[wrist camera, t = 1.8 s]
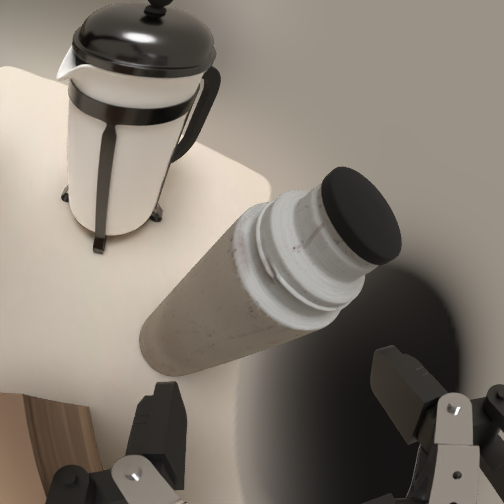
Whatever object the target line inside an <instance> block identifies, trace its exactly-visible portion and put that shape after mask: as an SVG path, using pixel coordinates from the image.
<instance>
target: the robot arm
mask: <svg viewBox="0 0 504 504" xmlns="http://www.w3.org/2000/svg"><path fill="white" fill-rule="evenodd" d="M370 383H371V388H372V391H373V392H374V394H375V395H376V397H377V398H378V400H379V402H380V403H381V405H382V406H383V407H384V409H385V410H386V412H387V413H388V415H389V417H390V418H391V419H392V421H393V423H394V424H395V426H396V427H397V429H398V430H399V432H400V433H401V435H402V436H403V438H404V439H405V441H406V442H407V444H408V445H409V444H412V443H414V442H416V441H419V443H420V444H421V445H420V447H419V450H418V455H417V461H416V465H415V470H414V475H413V479H412V483H411V487H410V490H409V492H408V494H407V497H406V498H403V499H394V498H393V496H392V494H391V493H389V494H387V495H384V496H382V497H379V498H376V499H373V500H371V501H368V502H365V503H362V504H477V495H478V483H479V467H480V468H481V470H482V471H483V472H484V474H485V476H486V477H487V479H488V480H489V481H490V483H491V484H492V486H493V487H494V489H495V490H496V492H497V493H498V495H499V496H500V498H501V499H502V501H503V502H504V441H503V440H502V438H501V437H500V436H499V435H498V433H499V432H500V430H502V431H503V432H504V385H501V384H499V385H494V386H492V387H491V388H490V389H489V390H488V392H487V395H486V397H483V398H478V399H473V400H469V399H468V398H467V397H466V396H464V395H462V394H459V393H448V392H447V391H446V390H445V389H444V388H443V387H442V386H441V385H440V384H439V382H438V381H437V380H436V379H435V378H434V377H433V376H432V375H431V374H429V373H428V371H427V370H426V369H425V368H423V366H422V365H421V364H420V362H418V360H417V359H415V358H413V357H411V356H409V355H407V354H402V353H401V352H400V351H399V350H398V349H397V348H396V347H395V346H388V347H384V348H381V349H377V350H376V351H375V353H374V358H373V365H372V372H371V379H370ZM186 433H187V415H186V410H185V407H184V404H183V401H182V397H181V394H180V391H179V387H178V384H177V382H176V381H174V382H157V383H156V386H155V390H154V395H152V396H144V398H143V399H142V400H141V401H140V402H139V404H138V405H137V409H136V413H135V417H134V421H133V425H132V429H131V433H130V437H129V441H128V446H127V450H126V454H125V457H122V458H120V459H119V460H118V461H116V462H115V464H114V465H113V467H112V469H109V470H105V471H99V472H92V473H87V471H86V470H85V469H84V468H82V467H81V466H78V465H66V466H63V467H61V468H60V469H59V470H57V472H56V473H55V474H54V477H53V480H52V483H51V486H50V489H49V493H48V496H47V499H46V503H45V504H188V503H187V502H184V501H183V500H182V499H181V498H180V497H179V496H178V495H177V493H176V492H175V490H184V475H185V452H186Z"/></svg>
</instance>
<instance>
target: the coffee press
mask: <svg viewBox="0 0 504 504" xmlns="http://www.w3.org/2000/svg"><path fill="white" fill-rule="evenodd" d="M148 1H149V2H143V1H129V2H120V3H115V4H111V5H108V6H105V7H102V8H100V9H99V10H97V11H95V12H93V13H92V14H91V15H90V16H89V17H88V18H87V19H86V20H85V21H84V23H83V24H82V26H81V27H79V28H78V29H77V30H76V31H75V33H74V35H73V41H72V46H71V47H70V49H69V51H68V52H67V54H66V56H65V58H64V60H63V62H62V64H61V66H60V69H59V71H58V74H57V80H58V81H62V80H66V79H69V85H68V95H69V98H70V99H69V113H68V137H67V171H68V186H67V187H66V188H65V189H64V191H63V193H62V196H61V199H62V200H63V201H65V202H69V204H70V208H71V211H72V213H73V215H74V216H75V218H76V219H77V220H78V222H79V223H80V224H82V225H83V226H84V227H85V228H87V229H89V230H91V231H93V232H95V238H94V245H93V251H96V252H100V253H103V251H104V247H105V242H106V237H107V235H121V234H125V233H128V232H131V231H133V230H135V229H137V228H138V227H140V226H141V225H142V224H144V223H145V222H146V221H147V219H148V218H150V219H151V220H152V221H154V222H160V221H161V220H162V215H163V210H162V209H161V207H160V206H159V204H158V201H159V197H160V194H161V191H162V188H163V185H164V182H165V179H166V176H167V173H168V170H169V167H170V164H171V163H173V162H174V161H176V160H178V159H179V158H181V157H182V156H183V155H184V154H185V153H186V152H187V151H188V150H189V149H190V148H191V147H192V145H193V144H194V142H195V141H196V139H197V137H198V135H199V133H200V131H201V129H202V127H203V124H204V122H205V120H206V118H207V116H208V113H209V111H210V109H211V107H212V105H213V102H214V100H215V98H216V95H217V93H218V90H219V87H220V82H221V77H220V73H219V71H218V70H217V69H216V68H214V67H213V66H212V64H213V62H214V60H215V58H216V50H215V48H214V39H213V35H212V33H211V31H210V29H209V28H208V27H207V26H206V24H204V22H203V21H201V20H200V19H199V18H197V17H196V16H194V15H192V14H190V13H188V12H186V11H184V10H181V9H179V8H176V7H172V6H169V4H170V3H171V2H172V1H173V0H148ZM201 78H203V79H204V88H203V91H202V94H201V96H200V99H199V101H198V103H197V106H196V108H195V110H194V113H193V115H192V118H191V120H190V123H189V125H188V128H187V130H186V132H185V135H184V137H183V138H182V140H181V141H180V143H179V144H178V142H179V139H180V137H181V134H182V131H183V129H184V126H185V124H186V121H187V119H188V116H189V113H190V111H191V108H192V106H193V103H194V101H195V98H196V96H197V94H198V91H199V88H200V80H201ZM187 112H188V113H187ZM186 114H187V115H186ZM185 117H186V118H185ZM183 122H184V123H183ZM181 127H182V128H181ZM180 130H181V131H180ZM178 135H179V136H178ZM177 138H178V139H177ZM174 146H175V147H174ZM167 166H168V167H167ZM166 169H167V170H166ZM165 172H166V173H165ZM164 175H165V176H164ZM163 178H164V179H163ZM67 191H68V193H66V192H67ZM159 191H160V192H159ZM158 194H159V195H158ZM157 197H158V199H157ZM156 200H157V204H156V212H157V214H156V213H154V212H153V209H154V206H155V203H156Z"/></svg>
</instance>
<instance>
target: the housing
mask: <svg viewBox="0 0 504 504" xmlns="http://www.w3.org/2000/svg"><path fill="white" fill-rule="evenodd" d="M66 465H78V466H81V467H82V468H84V469H85V470H86V471H87V473H92V472H99V471H103V468H102V464H101V461H100V457H99V453H98V449H97V445H96V441H95V436H94V432H93V427H92V422H91V417H90V412H89V407H86V406H79V405H73V404H67V403H62V402H56V401H51V400H46V399H42V398H37V397H33V396H29V395H24V394H11V393H0V504H45V503H46V499H47V496H48V493H49V489H50V486H51V483H52V480H53V477H54V474H55V473H56V472H57V470H59V469H60V468H61V467H63V466H66Z"/></svg>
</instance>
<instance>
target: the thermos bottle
mask: <svg viewBox="0 0 504 504" xmlns="http://www.w3.org/2000/svg"><path fill="white" fill-rule="evenodd" d="M401 244H402V242H401V234H400V229H399V226H398V223H397V221H396V218H395V216H394V214H393V212H392V210H391V208H390V206H389V205H388V203H387V201H386V200H385V199H384V197H383V196H382V195H381V193H380V192H379V191H378V189H377V188H376V187H375V186H374V185H373V184H372V183H371V182H370V181H368V179H367V178H365V177H364V176H363V175H361V174H360V173H358V172H357V171H355V170H353V169H351V168H347V167H337V168H335V169H334V170H332V171H331V172H330V173H329V174H328V175H327V176H326V177H325V178H324V180H323V182H322V184H319V185H318V186H316V187H315V188H313V189H312V190H311V191H310V192H306V191H301V190H294V191H288V192H286V193H284V194H282V195H280V196H279V197H278V198H277V199H274V200H272V201H270V202H265V203H261V204H257V205H255V206H253V207H251V208H249V209H248V210H247V211H245V212H244V213H243V214H242V215H241V216H240V217H239V218H238V219H237V221H236V222H235V223H234V224H233V225H232V226H231V227H230V228H229V229H228V230H227V231H226V232H225V233H224V234H223V236H222V237H221V238H220V239H219V240H218V241H217V242H216V243H215V244H214V245H213V246H212V247H211V249H210V250H209V251H208V252H207V253H206V254H205V255H204V256H203V257H202V258H201V259H200V261H199V262H198V263H197V264H196V265H195V266H194V267H193V268H192V269H191V270H190V272H189V273H188V274H187V275H186V276H185V277H184V278H183V279H182V280H181V282H180V283H179V284H178V285H177V286H176V287H175V288H174V289H173V290H172V292H171V293H170V294H169V295H168V296H167V297H166V298H165V299H164V301H163V302H162V303H161V304H160V305H159V306H158V307H157V308H156V310H155V311H154V312H153V313H152V314H151V315H150V316H149V318H148V319H147V320H146V321H145V323H144V325H143V326H142V329H141V332H140V347H141V351H142V354H143V356H144V358H145V359H146V361H147V362H148V363H149V365H150V366H152V367H153V368H154V369H155V370H157V371H158V372H160V373H162V374H165V375H168V376H182V375H186V374H190V373H193V372H196V371H200V370H203V369H207V368H210V367H213V366H217V365H220V364H223V363H226V362H229V361H233V360H236V359H239V358H242V357H245V356H248V355H251V354H254V353H256V352H259V351H263V350H265V349H268V348H271V347H274V346H277V345H279V344H282V343H285V342H288V341H290V340H293V339H296V338H298V337H301V336H304V335H306V334H309V333H311V332H314V331H316V330H319V329H321V328H324V327H326V326H327V325H328V324H330V323H331V322H332V321H333V320H334V319H335V318H336V316H337V315H338V314H339V312H340V310H341V309H343V308H344V307H346V306H347V305H348V304H349V303H350V302H351V301H352V300H353V299H354V298H355V297H357V295H358V294H359V293H360V291H361V289H362V286H363V284H364V280H365V279H364V278H365V274H367V273H368V272H370V271H372V270H373V269H374V268H376V267H377V266H378V265H383V264H386V263H388V262H390V261H391V260H393V259H395V258H396V257H397V256H398V255H399V253H400V251H401Z"/></svg>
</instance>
